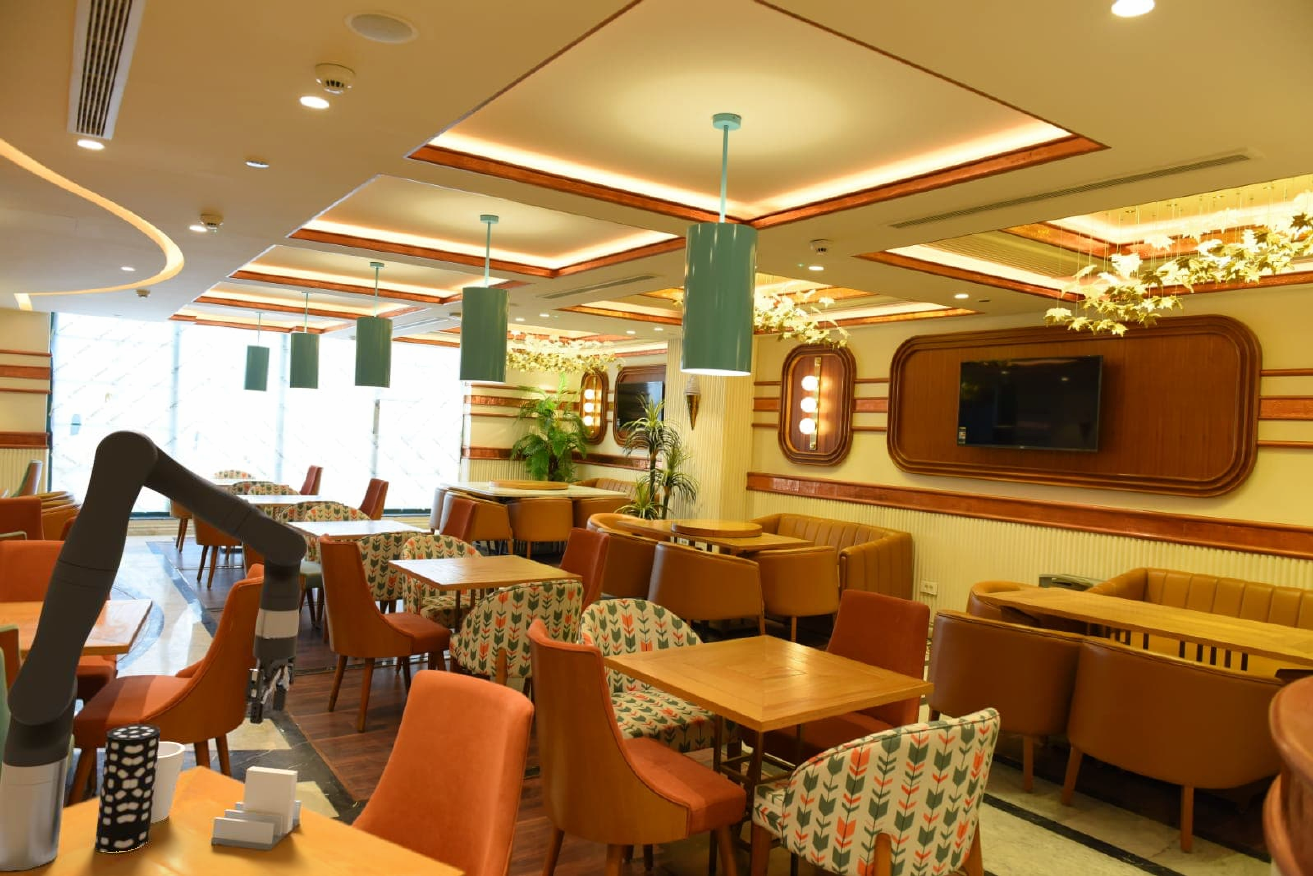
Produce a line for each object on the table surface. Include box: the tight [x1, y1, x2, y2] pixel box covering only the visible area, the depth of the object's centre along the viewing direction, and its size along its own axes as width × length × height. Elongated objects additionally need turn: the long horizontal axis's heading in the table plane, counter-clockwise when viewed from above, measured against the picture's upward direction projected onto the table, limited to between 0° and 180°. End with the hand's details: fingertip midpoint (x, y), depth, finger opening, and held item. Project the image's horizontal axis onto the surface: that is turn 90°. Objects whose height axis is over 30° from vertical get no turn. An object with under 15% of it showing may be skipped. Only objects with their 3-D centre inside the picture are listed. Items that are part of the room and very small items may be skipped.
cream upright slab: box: [242, 765, 299, 834], centre depth 164 cm, size 9×2×11 cm, turn 87°
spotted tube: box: [94, 724, 161, 852], centre depth 155 cm, size 8×8×20 cm
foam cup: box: [150, 741, 186, 825], centre depth 166 cm, size 10×9×13 cm
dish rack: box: [210, 799, 302, 851], centre depth 163 cm, size 11×12×4 cm
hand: (267, 716), depth 164 cm, fingers open, 8 cm apart
